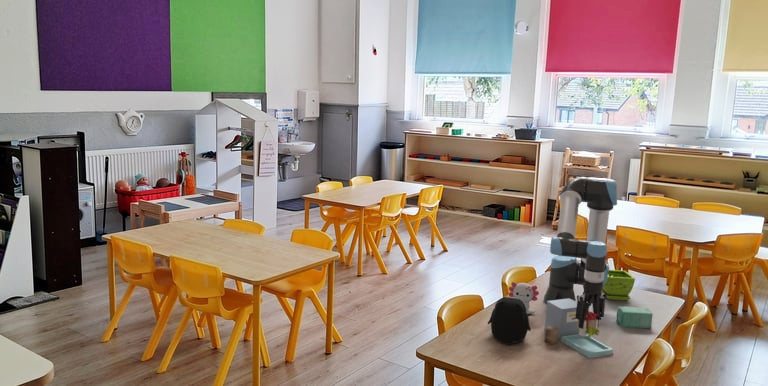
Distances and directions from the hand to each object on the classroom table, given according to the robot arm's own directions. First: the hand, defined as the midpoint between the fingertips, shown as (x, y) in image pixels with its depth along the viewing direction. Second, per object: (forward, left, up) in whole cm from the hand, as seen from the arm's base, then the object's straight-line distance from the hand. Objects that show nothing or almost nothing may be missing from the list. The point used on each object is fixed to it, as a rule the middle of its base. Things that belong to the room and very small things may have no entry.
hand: (587, 334), depth 254 cm
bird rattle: (0, -1, 0) cm, 1 cm away
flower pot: (-45, +57, -6) cm, 73 cm away
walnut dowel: (-9, -11, -6) cm, 15 cm away
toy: (-39, -4, -6) cm, 40 cm away
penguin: (-18, -26, -6) cm, 32 cm away
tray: (0, 0, -6) cm, 6 cm away
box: (-13, +38, -6) cm, 41 cm away
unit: (-16, +1, -6) cm, 17 cm away
